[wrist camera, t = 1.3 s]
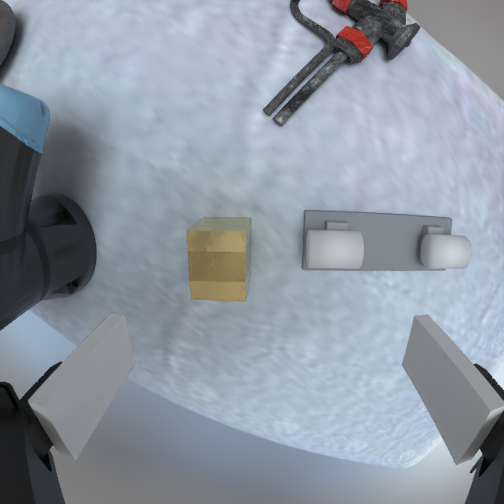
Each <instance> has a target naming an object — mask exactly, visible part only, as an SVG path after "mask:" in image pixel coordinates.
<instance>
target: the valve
mask: <svg viewBox="0 0 504 504" xmlns="http://www.w3.org/2000/svg"><path fill="white" fill-rule="evenodd" d="M330 1H331V2H332V5H333V6H334V7H336V8H337V9H339V10H340V11H342V12H343V13H345V14H346V15H348V14H349V15H350V16H352V17H353V18H355V19H356V20H358V22H357V23H356V24H355V25H354V26H353V27H349V26H346V27H345V28H344V29H343V30H342V31H340V32H339V33H338V34H337V36H336V39H335V38H334V37H333V35H332V34H331V33H330V32H329V31H328V30H326V29H325V28H323V27H322V26H320V25H318V24H317V23H315V22H314V21H312V20H310V19H309V18H307V17H306V16H304V15H303V14H302V13H301V12H300V10H299V8H298V2H299V0H291V3H290V6H291V11H292V13H293V15H294V16H295V17H296V18H297V19H298V20H299V21H301V22H302V23H304V24H305V25H307V26H308V27H310V28H311V29H313V30H315V31H316V32H318V33H319V34H321V35H322V36H324V37H325V38H326V40H327V45H326V46H325V47H324V48H323V49H322V50H321V51H320V52H319V53H318V54H317V55H316V56H315V57H314V58H313V59H312V60H311V61H310V62H309V63H308V64H307V65H306V66H305V67H304V68H303V69H302V70H301V71H300V72H299V73H298V74H297V75H296V76H295V77H294V78H293V79H292V80H291V81H290V82H289V83H288V84H287V85H286V86H285V87H284V88H283V89H282V90H281V91H280V92H279V93H278V94H277V95H276V96H275V97H274V98H273V100H272V101H271V102H270V103H269V104H268V105H267V106H266V107H265V108H264V109H263V111H264V112H265V113H266V114H268V115H269V116H270V114H271V113H272V112H273V111H274V110H275V109H276V108H277V107H278V106H279V105H280V104H281V103H282V102H283V100H284V99H285V98H286V97H287V96H288V95H289V94H290V93H291V92H292V91H293V90H294V89H295V88H296V87H297V86H298V85H299V84H300V83H301V82H302V81H303V80H304V79H305V78H306V77H307V76H308V75H309V74H310V73H311V72H312V71H313V70H314V69H315V68H316V67H317V66H318V65H319V64H320V63H321V62H322V61H323V60H324V59H325V58H326V57H327V56H328V55H329V54H330V53H331V52H332V51H334V52H335V55H334V56H333V57H332V58H331V59H330V60H329V61H328V62H327V63H326V64H325V65H324V66H323V67H322V68H321V69H320V70H319V71H318V72H317V73H316V74H315V75H314V76H313V77H312V78H311V79H310V80H309V81H308V82H307V83H306V84H305V85H304V86H303V87H302V88H301V89H300V90H299V91H298V92H297V93H296V94H295V95H294V96H293V97H292V98H291V100H290V101H289V102H288V103H287V104H286V105H285V106H284V107H283V108H282V109H281V110H280V111H279V112H278V113H277V114H276V115H275V117H274V118H273V120H274V121H275V122H276V123H278V124H279V125H280V126H282V125H283V124H284V122H285V121H286V120H287V119H288V118H289V117H290V116H291V115H292V114H293V113H294V112H295V111H296V110H297V109H298V108H299V106H300V105H301V104H302V103H303V102H304V101H305V100H306V99H307V98H308V97H309V96H310V95H311V94H312V93H313V92H314V91H315V90H316V89H317V88H318V87H319V86H320V85H321V84H322V83H323V82H324V81H325V80H326V79H327V78H328V77H329V76H330V75H331V74H332V73H333V72H334V71H335V70H336V69H337V68H338V67H339V66H340V65H341V64H342V63H343V62H344V61H345V62H346V63H350V64H353V63H355V62H357V61H359V62H361V61H362V60H363V59H364V58H365V57H366V56H367V55H368V54H369V53H370V51H371V50H372V48H373V45H374V44H375V43H376V42H377V41H378V40H379V39H380V38H381V39H383V40H384V41H385V42H386V43H388V46H389V47H388V50H389V53H388V57H390V58H391V59H393V58H395V57H396V56H397V55H398V54H399V53H400V52H401V51H402V50H403V49H404V48H405V47H408V46H409V45H410V43H411V42H410V41H411V40H412V39H413V37H414V36H415V35H416V34H417V32H418V31H419V29H420V26H419V25H418V24H417V23H414V24H411V25H407V26H406V10H407V1H406V0H380V6H381V7H382V9H381V8H380V7H378V6H377V5H375V4H374V3H371V2H370V1H368V0H330Z"/></svg>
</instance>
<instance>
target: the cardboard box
mask: <svg viewBox="0 0 504 504" xmlns="http://www.w3.org/2000/svg"><path fill="white" fill-rule="evenodd" d="M187 242H188V260H189V276H190V290H191V299H195V300H217V301H246V298H247V293H248V287H249V282H250V276H251V218H247V217H205V218H203V219H202V220H200V221H199V222H198V223H196V224H195V225H194V226H192V227H191V228H190V229H188V230H187Z"/></svg>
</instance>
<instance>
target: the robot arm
mask: <svg viewBox="0 0 504 504" xmlns="http://www.w3.org/2000/svg"><path fill="white" fill-rule="evenodd" d="M49 120H50V111H49V108H48V106H47V105H46V104H45V103H44V102H43V101H42V100H40V99H38V98H35V97H33V96H31V95H28V94H26V93H23V92H21V91H18V90H15V89H13V88H10V87H7V86H4V85H1V84H0V330H2V329H3V328H4V327H5V326H7V325H8V324H10V323H11V322H12V321H13V320H15V319H16V318H18V317H19V316H20V315H22V314H23V313H24V312H26V311H27V310H29V309H30V308H31V307H33V306H34V305H35V304H37V303H38V302H40V301H41V300H48V299H55V298H63V297H67V296H70V295H72V294H74V293H76V292H77V291H78V290H80V289H81V288H83V287H84V286H85V285H86V284H87V283H88V281H89V280H90V278H91V276H92V274H93V271H94V267H95V262H96V245H95V239H94V234H93V231H92V228H91V225H90V223H89V221H88V219H87V217H86V215H85V214H84V212H83V211H82V210H81V208H80V207H79V206H78V205H77V204H76V203H75V202H74V201H72V200H71V199H69V198H68V197H66V196H63V195H60V194H49V195H44V196H40V197H37V198H35V199H33V200H32V201H31V198H32V192H33V187H34V182H35V177H36V173H37V168H38V164H39V160H40V157H41V154H43V152H44V148H43V145H44V140H45V136H46V132H47V128H48V124H49ZM135 364H136V361H135V357H134V353H133V349H132V345H131V340H130V336H129V331H128V327H127V322H126V317H125V314H115V313H111V314H110V315H109V316H108V317H107V318H106V319H105V320H104V321H103V322H102V323H101V324H100V325H99V326H98V327H97V328H96V329H95V330H94V331H93V332H92V333H91V334H90V335H89V336H88V337H87V338H86V339H85V340H84V341H83V342H82V343H81V344H80V345H79V346H78V347H77V348H76V349H75V350H74V351H73V352H72V353H71V354H70V355H69V356H68V357H67V358H66V360H65V361H64V362H59V363H57V364H55V365H53V366H52V367H50V368H49V369H48V370H47V371H46V372H45V374H44V376H42V377H41V378H40V379H39V380H38V382H36V383H35V384H34V385H33V386H32V387H31V388H30V389H29V390H28V392H27V393H26V394H25V395H24V396H23V397H22V398H21V399H20V400H19V399H18V397H17V395H16V393H15V391H14V389H13V387H12V386H11V384H9V383H7V382H0V504H65V501H64V498H63V495H62V491H61V488H60V484H59V481H58V477H57V473H56V469H55V464H54V460H53V456H52V454H51V452H50V448H51V447H52V445H54V446H55V448H56V449H57V451H58V453H59V454H60V455H62V456H65V457H67V458H70V459H72V460H75V461H76V459H77V457H78V456H79V454H80V452H81V451H82V449H83V447H84V446H85V444H86V442H87V440H88V439H89V437H90V435H91V434H92V432H93V431H94V429H95V427H96V426H97V424H98V422H99V421H100V419H101V418H102V416H103V414H104V413H105V411H106V409H107V408H108V406H109V404H110V403H111V401H112V400H113V398H114V397H115V395H116V393H117V392H118V390H119V389H120V387H121V386H122V384H123V382H124V381H125V379H126V378H127V376H128V375H129V373H130V371H131V370H132V368H133V367H134V365H135ZM402 366H403V368H404V369H405V371H406V373H407V374H408V376H409V378H410V380H411V381H412V383H413V385H414V386H415V388H416V390H417V392H418V394H419V395H420V397H421V399H422V401H423V402H424V404H425V406H426V408H427V410H428V412H429V413H430V415H431V417H432V419H433V421H434V423H435V425H436V427H437V428H438V430H439V432H440V434H441V436H442V438H443V440H444V442H445V444H446V446H447V448H448V450H449V452H450V454H451V456H452V458H453V460H454V462H455V464H456V465H458V464H460V463H463V462H466V461H468V460H471V459H472V458H473V457H474V456H475V454H476V453H477V451H478V450H479V448H480V450H481V452H482V456H481V457H480V459H479V460H478V461H477V463H476V464H475V465H474V466H473V468H472V469H471V471H470V473H472V472H473V471H474V470H475V469H476V468H477V469H476V472H475V475H474V478H473V482H472V485H471V488H470V491H469V494H468V497H467V499H466V502H465V504H504V390H503V389H502V388H501V387H500V385H497V382H496V381H495V379H494V378H493V379H492V376H491V375H490V374H489V373H488V371H487V370H486V369H484V368H483V367H481V366H480V365H478V364H472V362H471V361H470V360H469V359H468V358H467V357H466V355H465V354H464V353H463V352H462V351H461V350H460V349H459V348H458V346H457V345H456V344H455V343H454V342H453V341H452V340H451V339H450V338H449V337H448V335H447V334H446V333H445V332H444V331H443V330H442V329H441V328H440V327H439V326H438V325H437V324H436V323H435V322H434V321H433V319H432V318H431V317H430V316H429V315H417V316H414V319H413V324H412V328H411V332H410V336H409V340H408V344H407V348H406V352H405V356H404V359H403V363H402Z"/></svg>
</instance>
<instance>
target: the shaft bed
mask: <svg viewBox="0 0 504 504" xmlns="http://www.w3.org/2000/svg"><path fill="white" fill-rule="evenodd" d="M451 226H452V219H451V218H445V217H433V216H419V215H404V214H388V213H369V212H347V211H321V210H305V215H304V242H303V263H302V268H303V270H347V271H423V270H445V269H455V268H466V267H467V266H468V265H469V263H470V261H471V257H472V247H471V243H470V241H469V239H468V238H467V237H466V236H458V235H450V234H451Z"/></svg>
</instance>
